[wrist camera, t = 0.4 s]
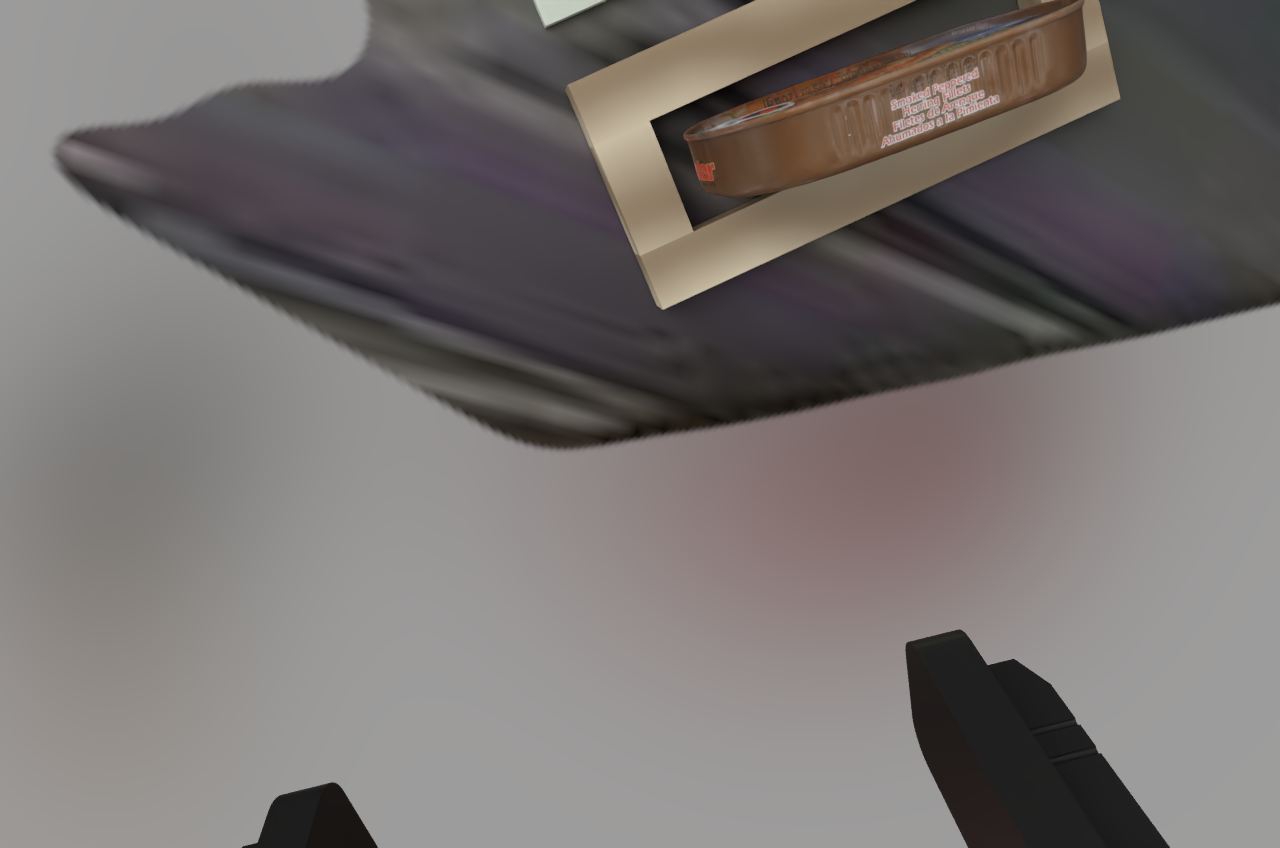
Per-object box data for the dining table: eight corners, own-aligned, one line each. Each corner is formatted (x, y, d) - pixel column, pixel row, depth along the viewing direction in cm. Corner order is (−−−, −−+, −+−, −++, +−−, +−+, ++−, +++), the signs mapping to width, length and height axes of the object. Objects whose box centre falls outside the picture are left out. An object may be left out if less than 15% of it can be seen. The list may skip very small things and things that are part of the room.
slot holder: (564, 89, 33) (567, 84, 31) (1044, -126, 34) (1068, -141, 32) (656, 305, 36) (662, 309, 34) (1096, 102, 36) (1120, 98, 35)
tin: (994, 12, 35) (1141, -40, 27) (1008, 89, 36) (1154, 60, 28) (660, 133, 34) (710, 115, 26) (684, 208, 35) (739, 213, 27)
